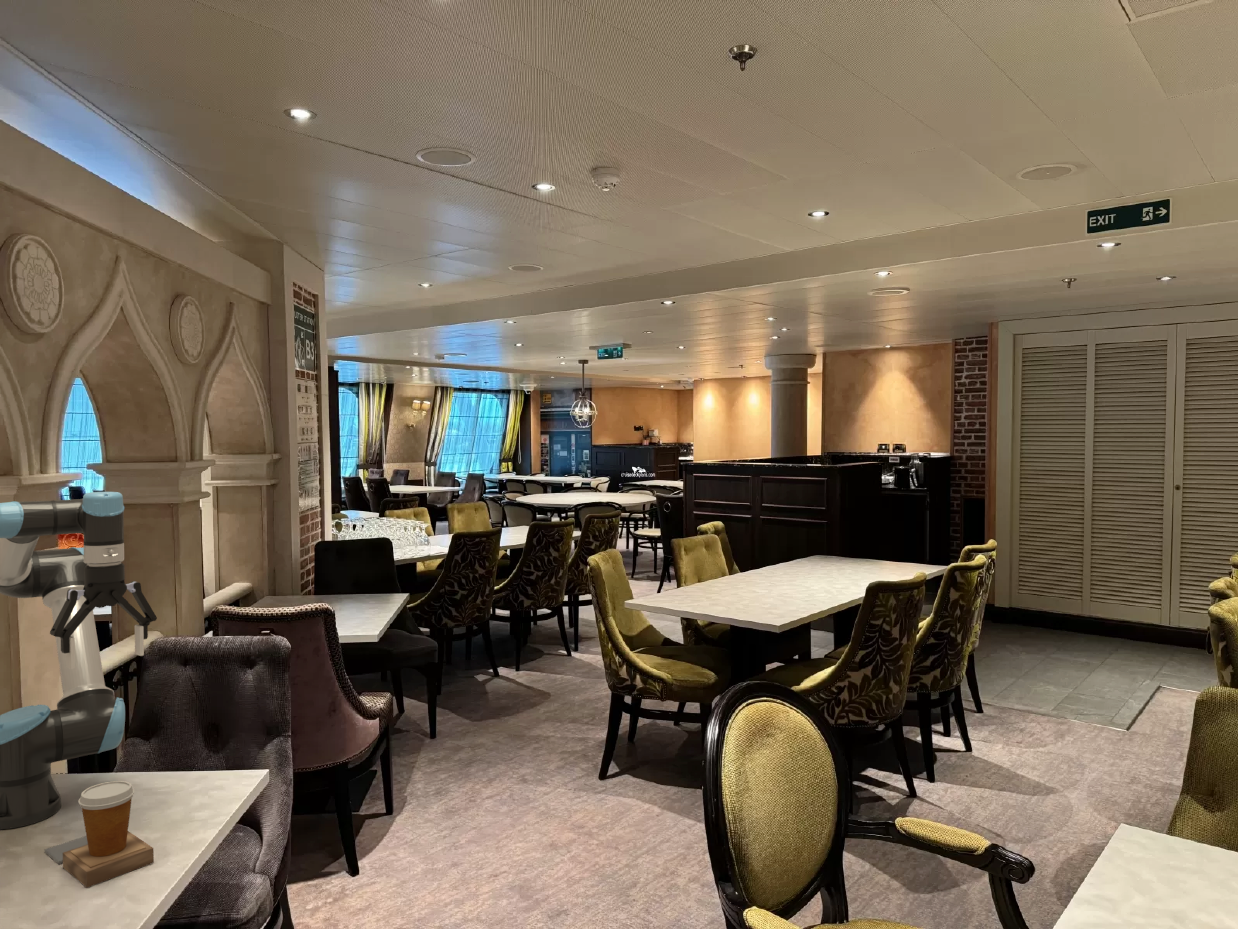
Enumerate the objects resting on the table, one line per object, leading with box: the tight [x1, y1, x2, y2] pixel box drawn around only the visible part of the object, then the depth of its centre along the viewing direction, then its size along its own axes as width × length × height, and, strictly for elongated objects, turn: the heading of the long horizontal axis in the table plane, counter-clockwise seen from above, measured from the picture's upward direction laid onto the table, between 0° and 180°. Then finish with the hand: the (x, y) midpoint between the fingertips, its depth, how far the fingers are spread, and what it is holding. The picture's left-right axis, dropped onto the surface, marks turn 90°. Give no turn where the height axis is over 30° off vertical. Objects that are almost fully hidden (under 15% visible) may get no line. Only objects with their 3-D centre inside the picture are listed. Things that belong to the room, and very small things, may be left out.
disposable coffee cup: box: [78, 780, 135, 857], centre depth 169 cm, size 10×10×12 cm
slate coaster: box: [44, 835, 88, 865], centre depth 175 cm, size 8×8×1 cm
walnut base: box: [62, 830, 155, 888], centre depth 169 cm, size 12×12×3 cm
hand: (106, 661), depth 184 cm, fingers open, 13 cm apart
